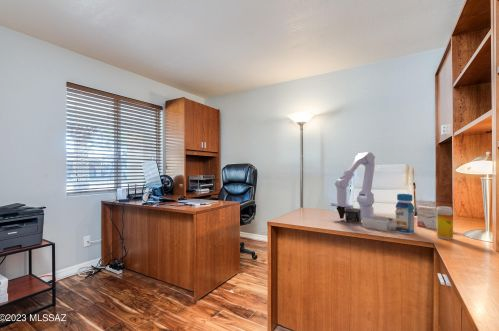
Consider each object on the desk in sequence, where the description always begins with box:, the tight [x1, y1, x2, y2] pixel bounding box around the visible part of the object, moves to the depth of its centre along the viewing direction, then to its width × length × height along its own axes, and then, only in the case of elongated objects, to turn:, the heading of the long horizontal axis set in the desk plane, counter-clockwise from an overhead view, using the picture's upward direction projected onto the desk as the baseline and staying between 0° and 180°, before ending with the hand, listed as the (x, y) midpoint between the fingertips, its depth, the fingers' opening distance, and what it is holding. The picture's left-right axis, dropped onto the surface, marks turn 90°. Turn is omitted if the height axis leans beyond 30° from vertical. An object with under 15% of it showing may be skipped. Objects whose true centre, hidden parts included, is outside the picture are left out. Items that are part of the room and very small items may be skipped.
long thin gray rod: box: [334, 218, 346, 224], centre depth 155 cm, size 18×1×1 cm, turn 130°
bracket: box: [361, 215, 396, 232], centre depth 138 cm, size 14×13×6 cm
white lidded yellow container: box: [436, 205, 454, 241], centre depth 116 cm, size 6×6×15 cm
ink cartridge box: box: [416, 200, 437, 230], centre depth 138 cm, size 9×5×15 cm, turn 47°
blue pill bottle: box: [394, 193, 415, 235], centre depth 127 cm, size 8×8×20 cm
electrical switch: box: [344, 207, 362, 224], centre depth 150 cm, size 9×5×9 cm, turn 57°
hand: (341, 218), depth 156 cm, fingers closed
